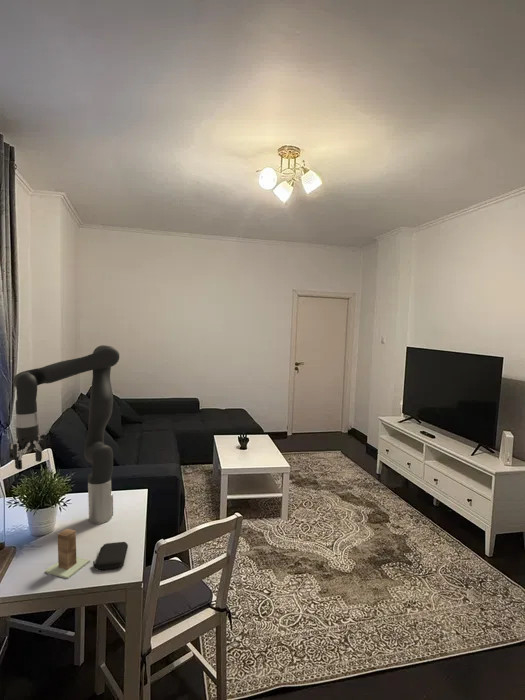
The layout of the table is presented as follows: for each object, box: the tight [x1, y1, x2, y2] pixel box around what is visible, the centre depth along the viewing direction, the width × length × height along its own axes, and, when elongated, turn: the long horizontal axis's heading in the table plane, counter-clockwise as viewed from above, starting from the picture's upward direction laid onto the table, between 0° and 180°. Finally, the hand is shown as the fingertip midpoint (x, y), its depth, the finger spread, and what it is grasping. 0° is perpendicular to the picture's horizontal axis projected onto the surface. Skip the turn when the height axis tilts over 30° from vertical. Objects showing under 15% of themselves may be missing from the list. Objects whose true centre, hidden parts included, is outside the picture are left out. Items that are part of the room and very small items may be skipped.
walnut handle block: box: [57, 528, 77, 570], centre depth 139 cm, size 4×4×12 cm
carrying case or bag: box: [92, 541, 129, 572], centre depth 145 cm, size 11×3×15 cm
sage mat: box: [44, 556, 91, 580], centre depth 140 cm, size 10×10×1 cm
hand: (29, 465), depth 155 cm, fingers open, 8 cm apart
